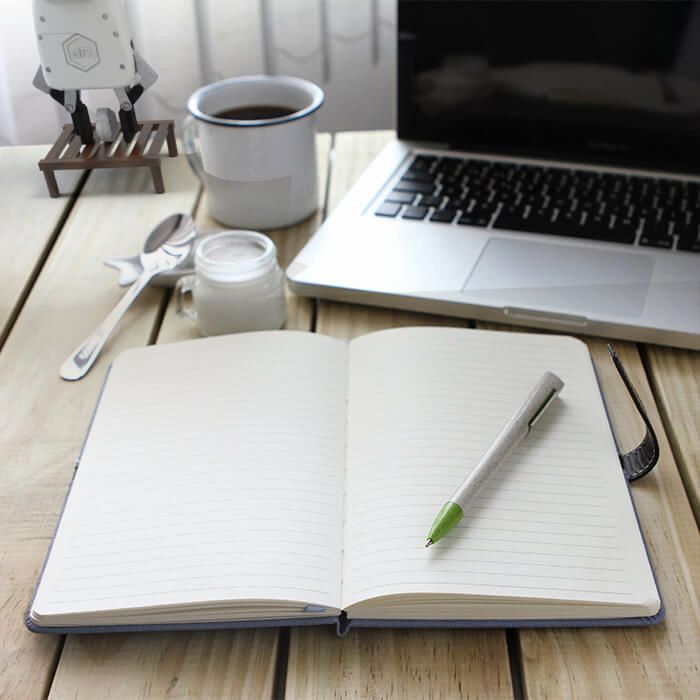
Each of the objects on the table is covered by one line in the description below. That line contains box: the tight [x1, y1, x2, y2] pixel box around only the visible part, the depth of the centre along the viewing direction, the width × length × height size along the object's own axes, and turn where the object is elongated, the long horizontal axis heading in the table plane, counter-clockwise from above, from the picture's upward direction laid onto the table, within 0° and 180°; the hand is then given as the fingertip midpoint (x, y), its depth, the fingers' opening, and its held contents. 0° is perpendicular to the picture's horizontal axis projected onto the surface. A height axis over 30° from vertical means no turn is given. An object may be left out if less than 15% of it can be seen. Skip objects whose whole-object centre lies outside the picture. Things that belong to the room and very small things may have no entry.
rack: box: [37, 119, 179, 199], centre depth 97 cm, size 14×12×4 cm
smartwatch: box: [94, 107, 118, 143], centre depth 94 cm, size 4×2×4 cm, turn 3°
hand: (108, 138), depth 96 cm, fingers open, 4 cm apart
